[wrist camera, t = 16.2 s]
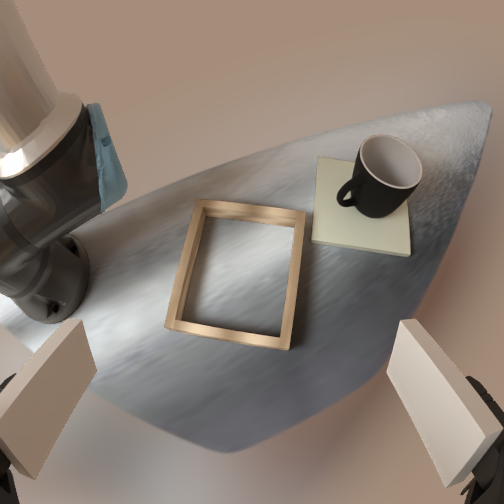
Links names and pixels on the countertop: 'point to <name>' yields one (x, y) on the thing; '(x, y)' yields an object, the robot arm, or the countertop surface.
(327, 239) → the tile
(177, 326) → the rectangular wooden frame
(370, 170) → the mug
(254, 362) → the countertop surface
